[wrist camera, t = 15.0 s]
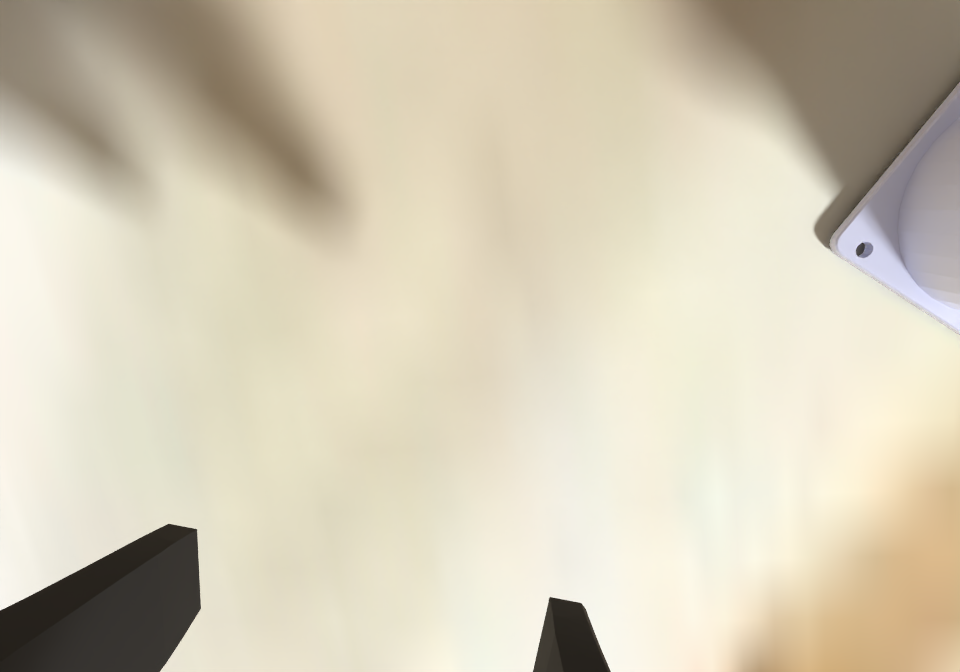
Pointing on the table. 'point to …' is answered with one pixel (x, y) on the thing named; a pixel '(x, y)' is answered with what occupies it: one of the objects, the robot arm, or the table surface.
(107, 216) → the table surface
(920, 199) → the robot arm
